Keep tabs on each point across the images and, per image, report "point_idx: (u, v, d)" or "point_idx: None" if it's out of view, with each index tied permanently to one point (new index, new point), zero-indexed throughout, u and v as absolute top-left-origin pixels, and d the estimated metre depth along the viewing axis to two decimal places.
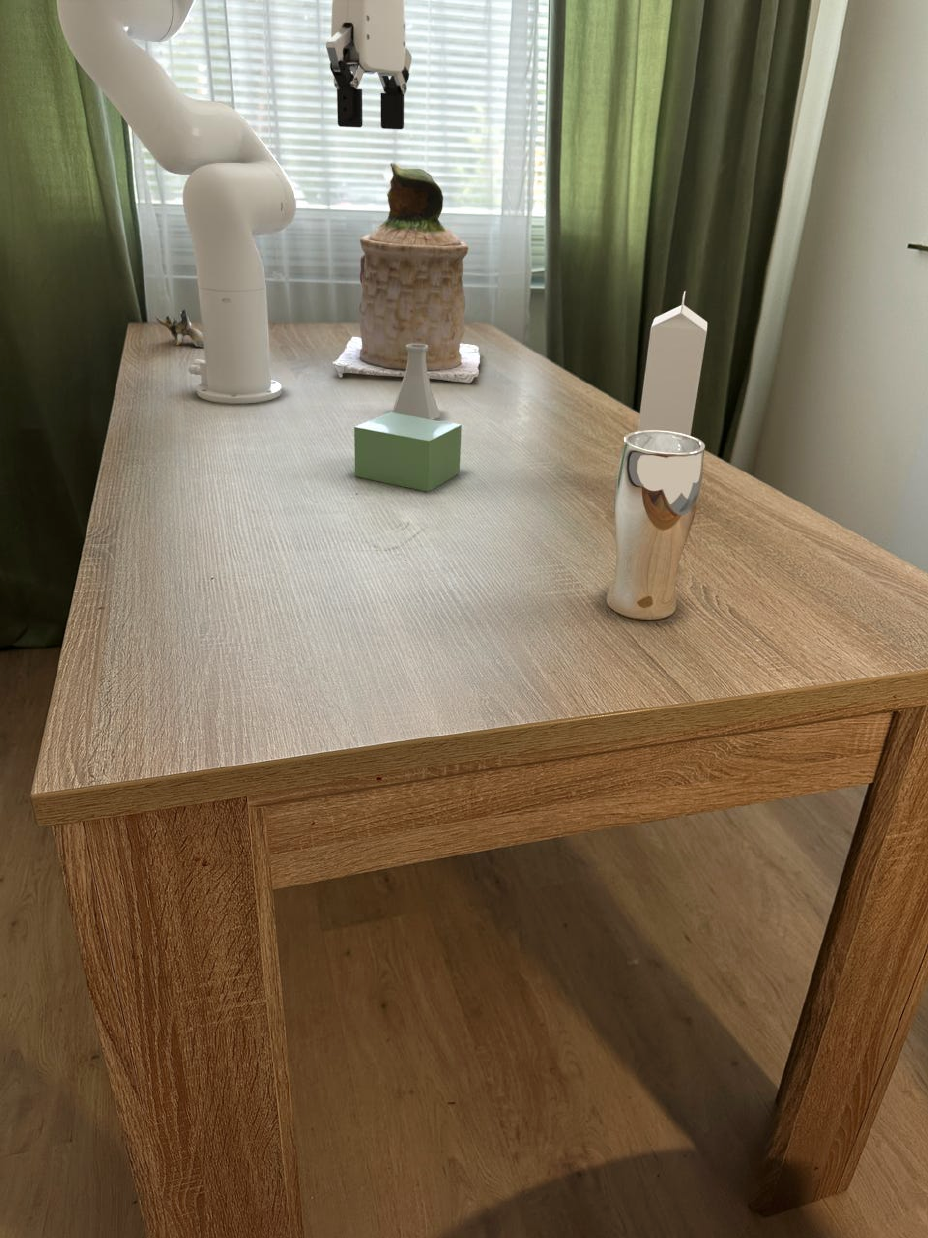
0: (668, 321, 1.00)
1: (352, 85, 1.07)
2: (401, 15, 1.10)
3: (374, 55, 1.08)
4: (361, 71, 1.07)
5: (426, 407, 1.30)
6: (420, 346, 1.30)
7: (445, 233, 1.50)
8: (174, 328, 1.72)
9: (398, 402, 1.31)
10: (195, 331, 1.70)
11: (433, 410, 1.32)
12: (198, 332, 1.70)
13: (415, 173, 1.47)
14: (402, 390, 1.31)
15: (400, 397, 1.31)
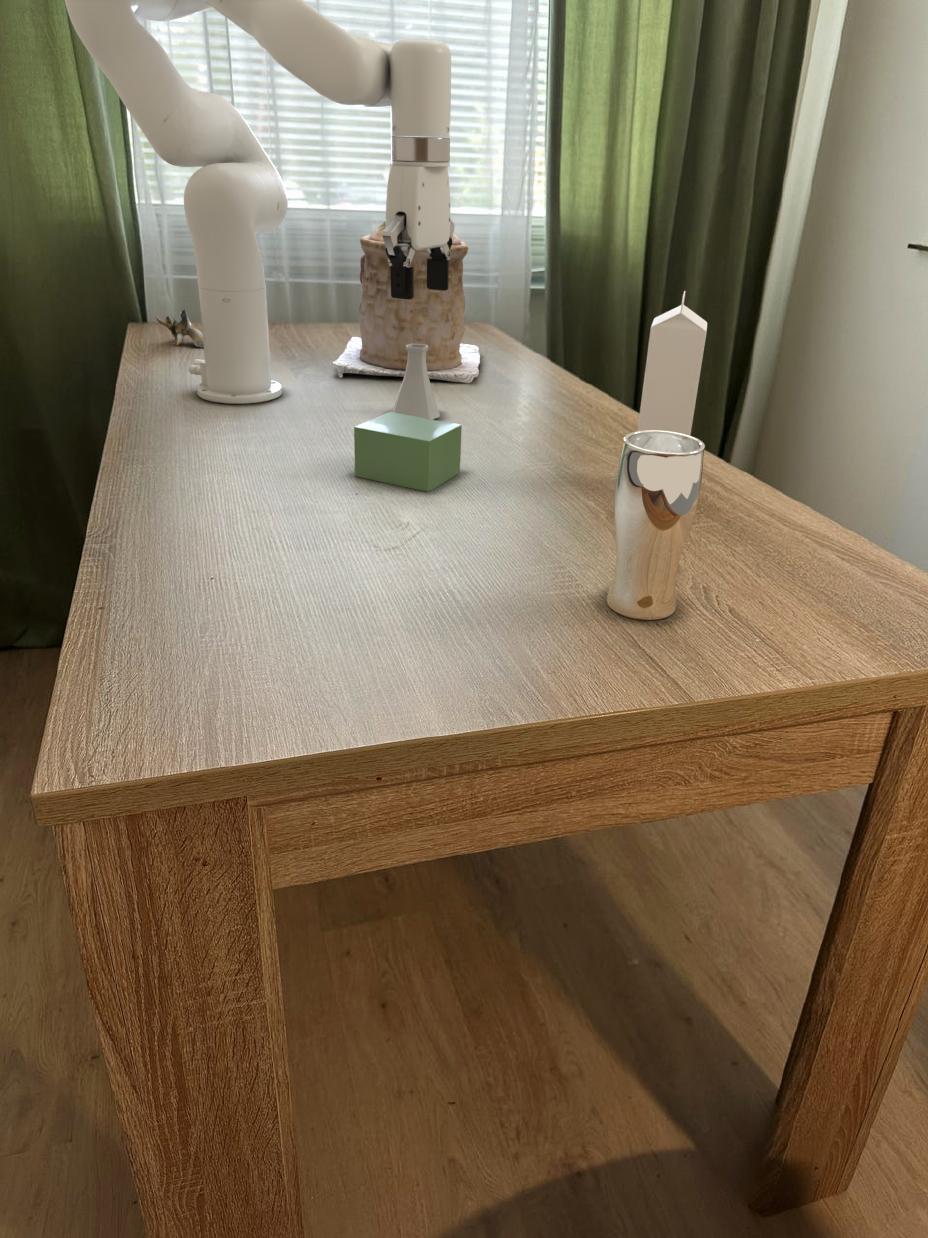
0: (668, 321, 1.00)
1: (405, 265, 1.18)
2: (447, 197, 1.22)
3: (424, 237, 1.19)
4: (412, 251, 1.19)
5: (426, 407, 1.30)
6: (420, 346, 1.30)
7: None
8: (174, 328, 1.72)
9: (398, 402, 1.31)
10: (195, 331, 1.70)
11: (433, 410, 1.32)
12: (198, 332, 1.70)
13: None
14: (402, 390, 1.31)
15: (400, 397, 1.31)
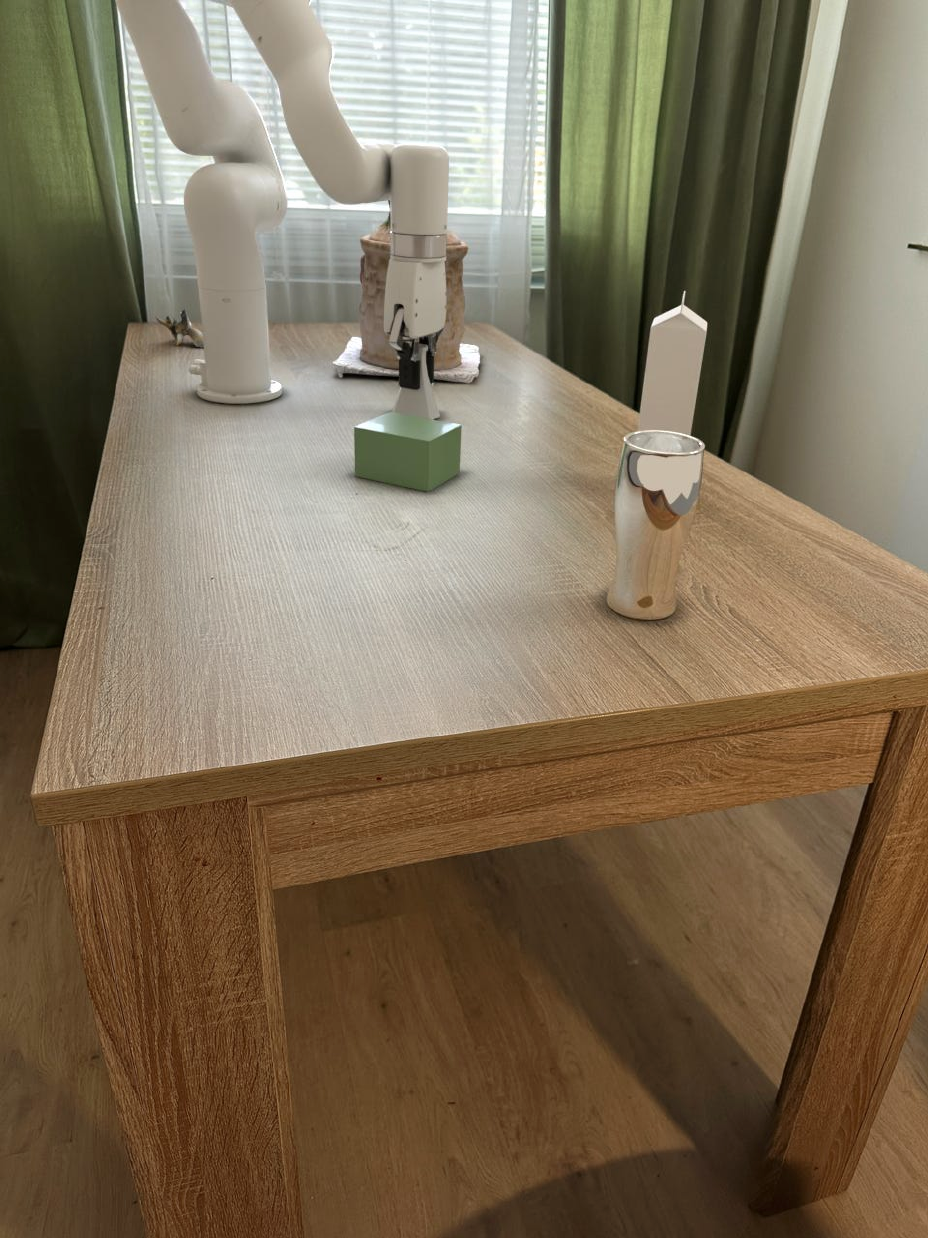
0: (668, 321, 1.00)
1: (413, 360, 1.27)
2: (443, 286, 1.27)
3: (420, 327, 1.24)
4: (417, 344, 1.26)
5: (426, 407, 1.30)
6: (420, 346, 1.30)
7: None
8: (174, 328, 1.72)
9: (398, 402, 1.31)
10: (195, 331, 1.70)
11: (433, 410, 1.32)
12: (198, 332, 1.70)
13: None
14: (402, 390, 1.31)
15: (400, 397, 1.31)
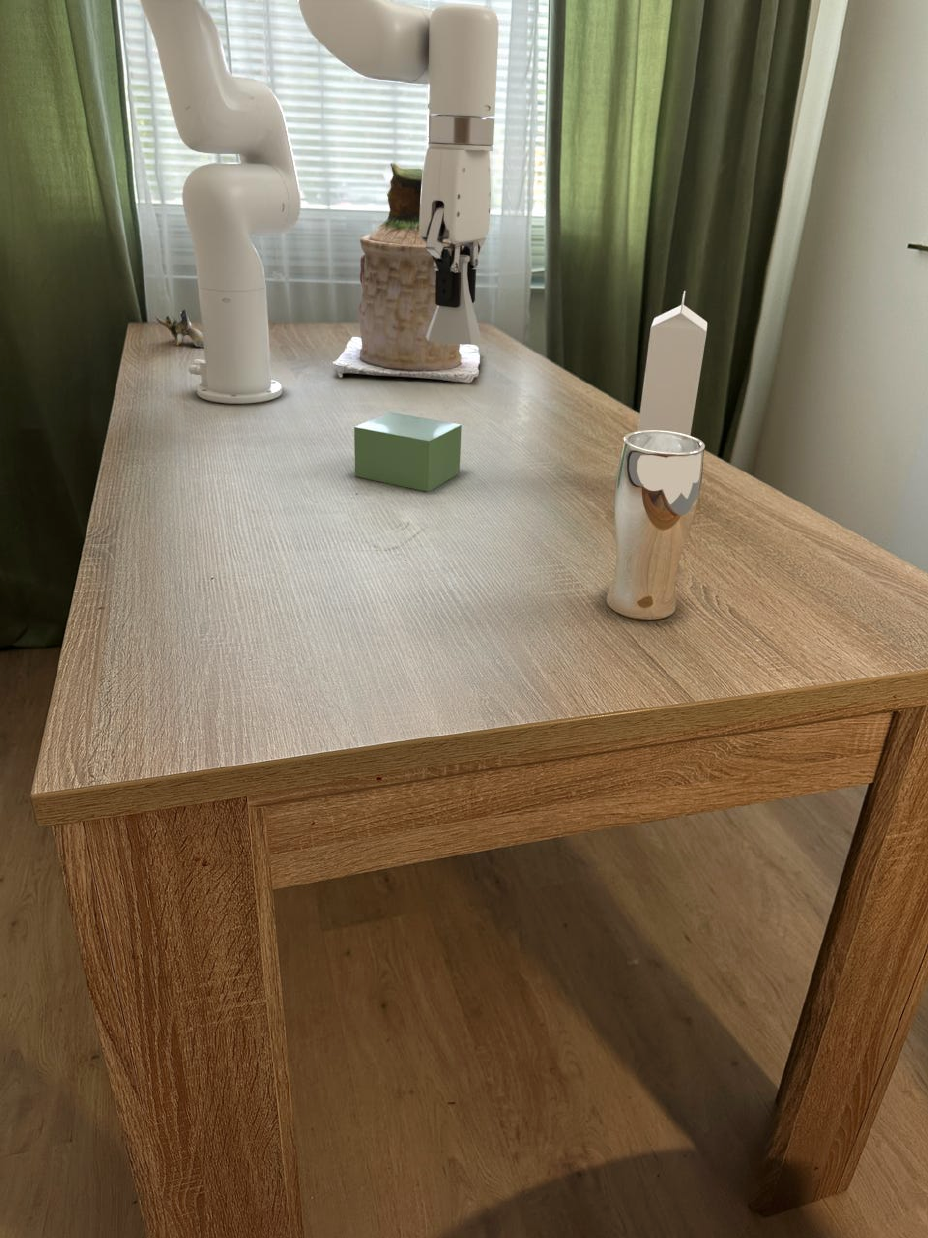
0: (668, 321, 1.00)
1: (452, 270, 1.08)
2: (488, 185, 1.09)
3: (463, 230, 1.06)
4: (457, 252, 1.08)
5: (467, 328, 1.12)
6: None
7: None
8: (174, 328, 1.72)
9: (434, 323, 1.13)
10: (195, 331, 1.70)
11: (474, 333, 1.13)
12: (198, 332, 1.70)
13: (415, 173, 1.47)
14: (439, 309, 1.12)
15: (437, 317, 1.12)
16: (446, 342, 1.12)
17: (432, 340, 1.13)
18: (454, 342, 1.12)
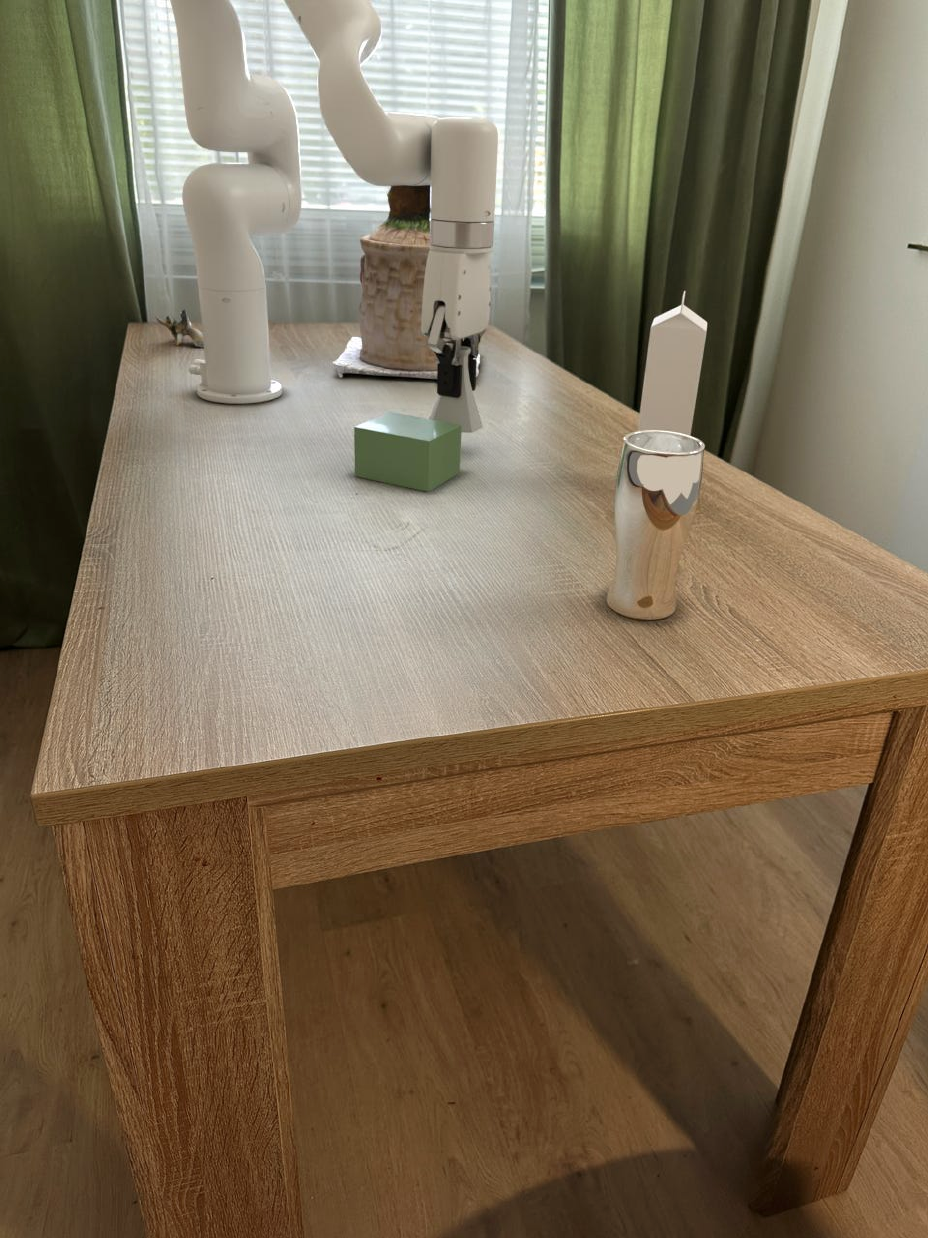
0: (668, 321, 1.00)
1: (454, 364, 1.12)
2: (488, 281, 1.12)
3: (463, 327, 1.10)
4: (458, 347, 1.12)
5: (468, 417, 1.16)
6: (461, 348, 1.15)
7: None
8: (174, 328, 1.72)
9: (436, 412, 1.16)
10: (195, 331, 1.70)
11: (475, 421, 1.17)
12: (198, 332, 1.70)
13: None
14: (441, 398, 1.16)
15: (438, 406, 1.16)
16: None
17: None
18: None
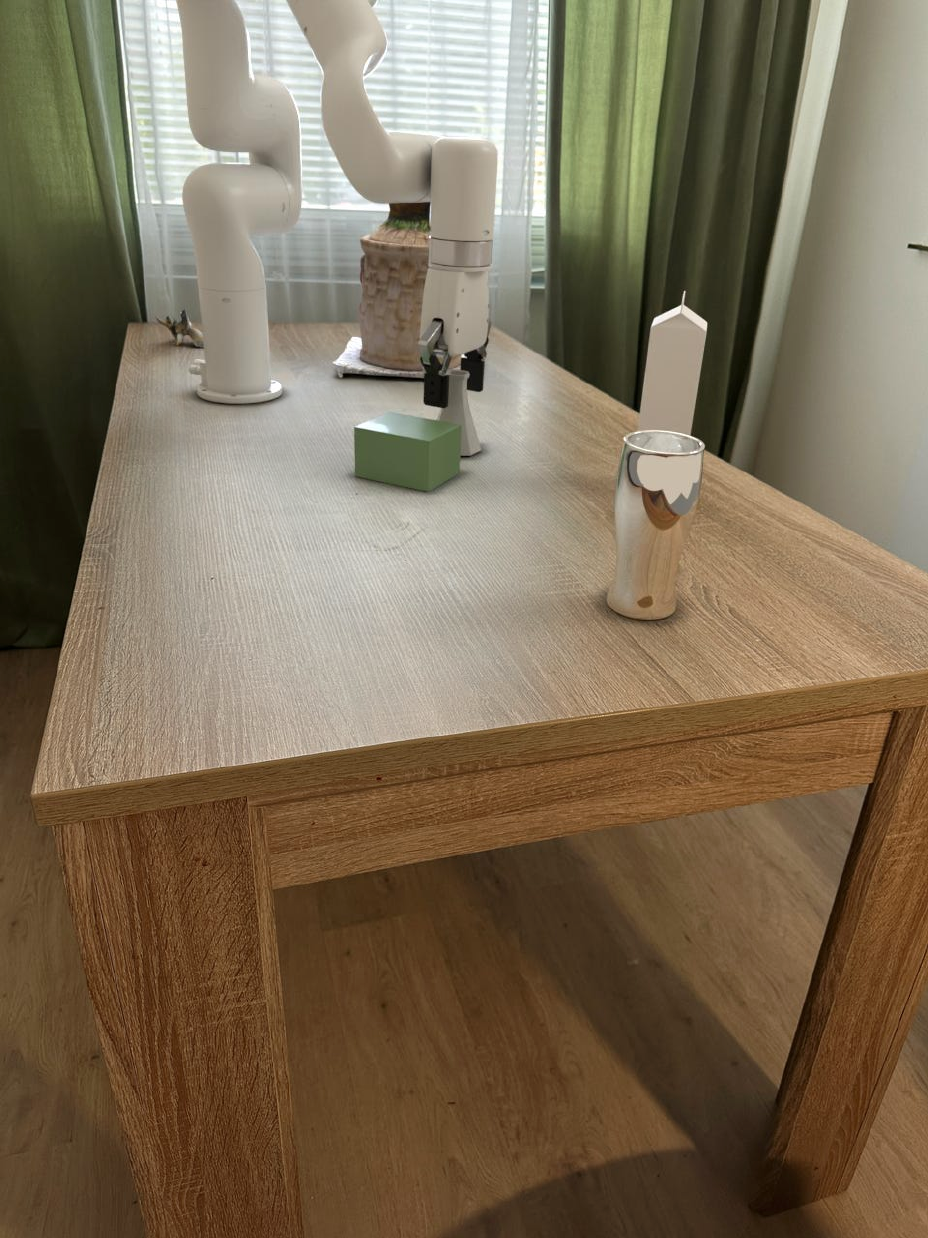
0: (668, 321, 1.00)
1: (440, 374, 1.10)
2: (486, 298, 1.13)
3: (461, 344, 1.11)
4: (449, 359, 1.11)
5: (467, 440, 1.17)
6: (460, 372, 1.17)
7: None
8: (174, 328, 1.72)
9: None
10: (195, 331, 1.70)
11: (473, 444, 1.18)
12: (198, 332, 1.70)
13: None
14: None
15: None
16: None
17: None
18: None
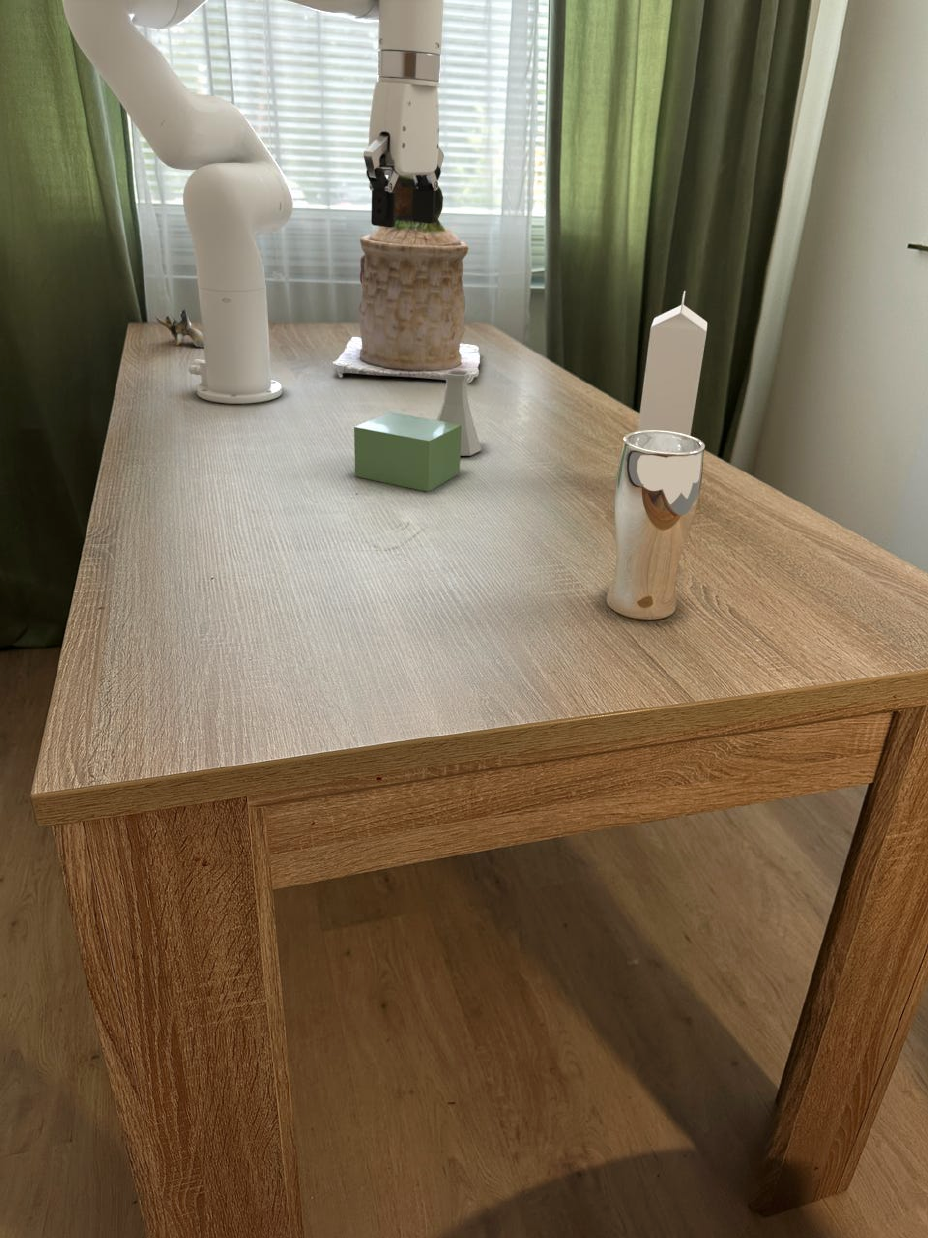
0: (668, 321, 1.00)
1: (387, 190, 1.12)
2: (436, 121, 1.15)
3: (408, 161, 1.13)
4: (395, 176, 1.13)
5: (467, 440, 1.17)
6: (460, 372, 1.17)
7: (445, 233, 1.50)
8: (174, 328, 1.72)
9: None
10: (195, 331, 1.70)
11: (473, 444, 1.18)
12: (198, 332, 1.70)
13: None
14: None
15: None
16: None
17: None
18: None
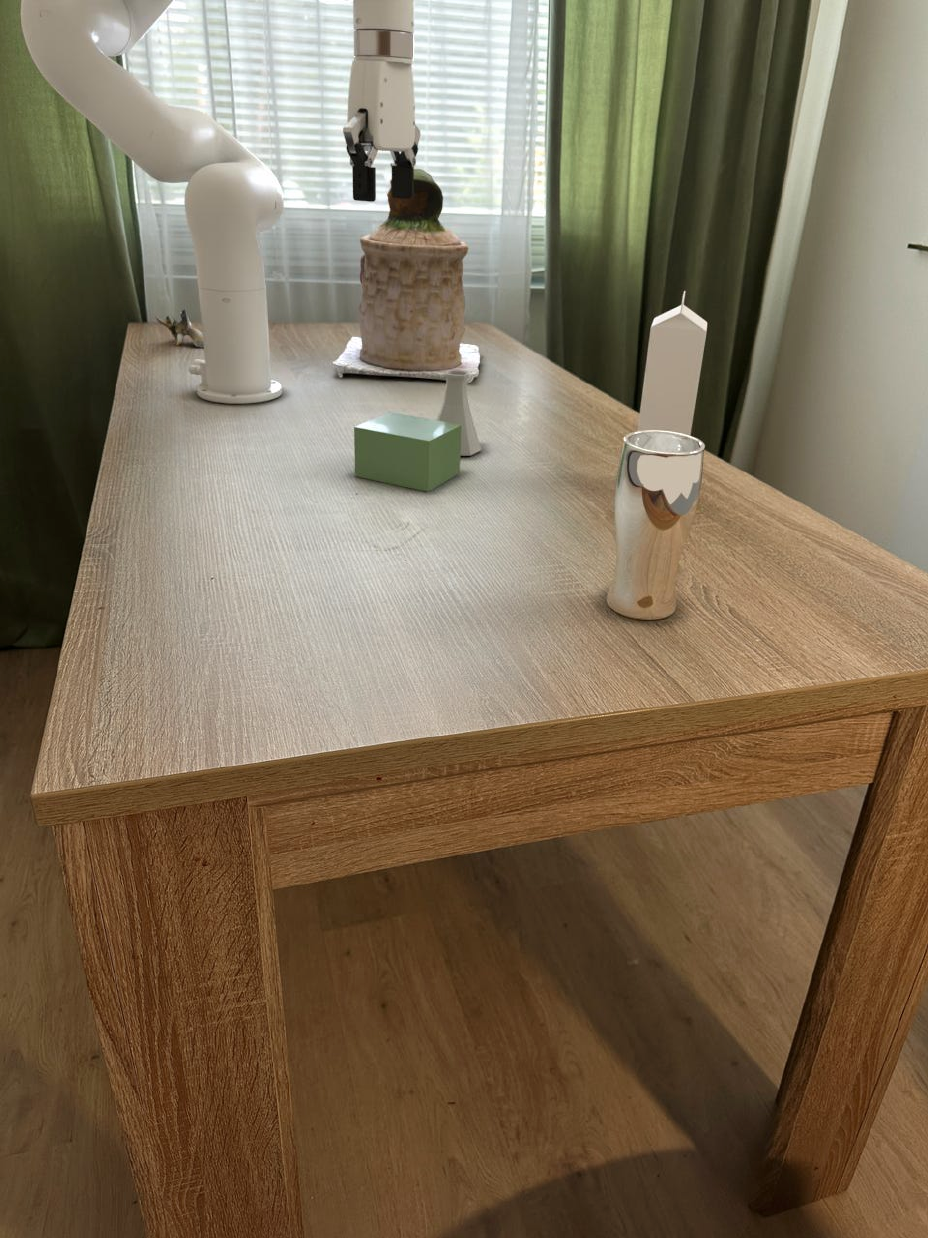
0: (668, 321, 1.00)
1: (366, 165, 1.16)
2: (411, 98, 1.20)
3: (386, 137, 1.17)
4: (374, 151, 1.17)
5: (467, 440, 1.17)
6: (460, 372, 1.17)
7: (445, 233, 1.50)
8: (174, 328, 1.72)
9: None
10: (195, 331, 1.70)
11: (473, 444, 1.18)
12: (198, 332, 1.70)
13: (415, 173, 1.47)
14: None
15: None
16: None
17: None
18: None
